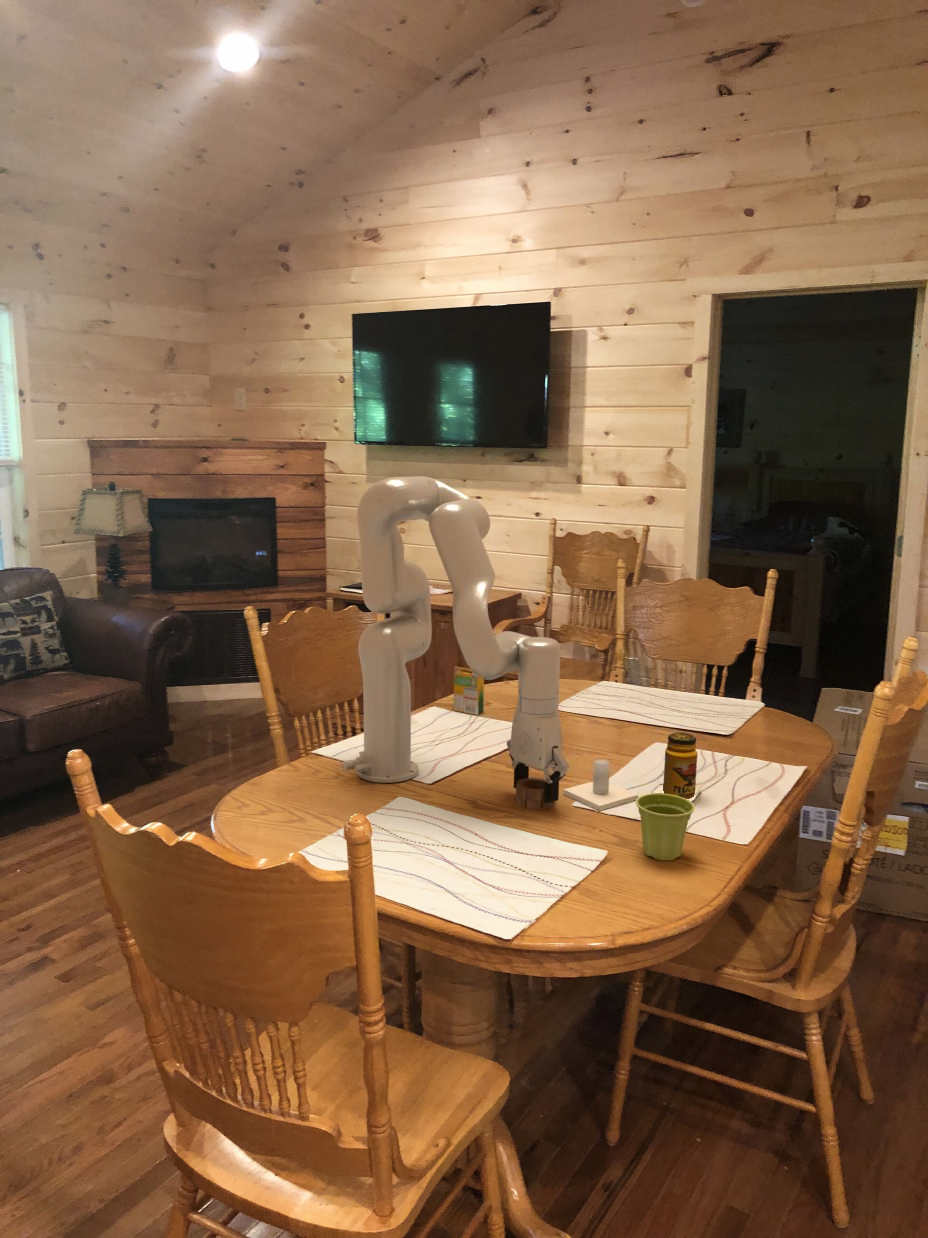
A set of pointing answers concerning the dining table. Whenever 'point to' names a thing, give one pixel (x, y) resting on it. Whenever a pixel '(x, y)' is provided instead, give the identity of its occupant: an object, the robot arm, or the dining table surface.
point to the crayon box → (468, 692)
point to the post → (600, 790)
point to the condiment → (680, 765)
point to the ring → (531, 793)
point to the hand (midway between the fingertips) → (535, 794)
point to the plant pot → (663, 824)
